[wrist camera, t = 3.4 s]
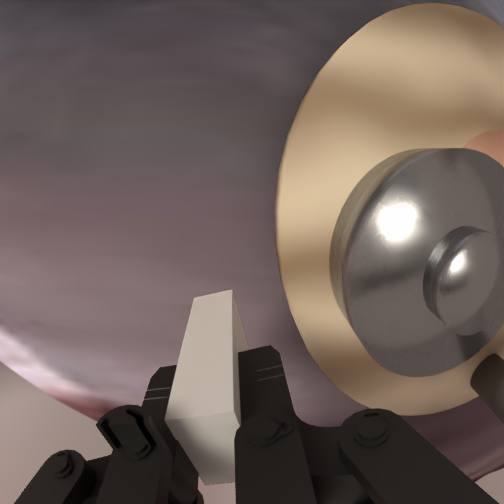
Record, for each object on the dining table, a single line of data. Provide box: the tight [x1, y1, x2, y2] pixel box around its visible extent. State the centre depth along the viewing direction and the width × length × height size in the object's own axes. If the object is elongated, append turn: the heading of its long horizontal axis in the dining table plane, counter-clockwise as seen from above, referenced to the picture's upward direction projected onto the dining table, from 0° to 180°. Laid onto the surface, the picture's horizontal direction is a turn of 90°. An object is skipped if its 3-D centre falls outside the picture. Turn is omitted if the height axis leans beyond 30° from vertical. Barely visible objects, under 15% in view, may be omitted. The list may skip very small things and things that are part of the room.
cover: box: [329, 148, 504, 377], centre depth 11 cm, size 10×10×4 cm
